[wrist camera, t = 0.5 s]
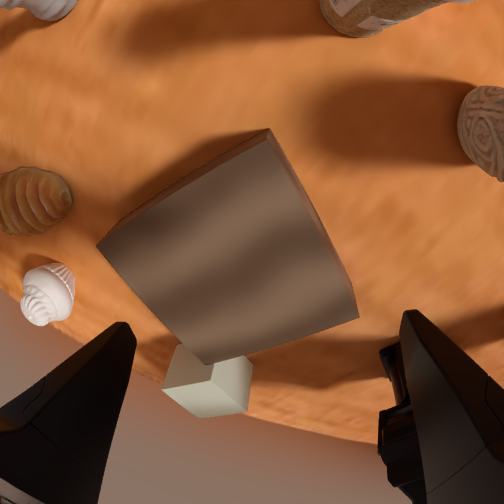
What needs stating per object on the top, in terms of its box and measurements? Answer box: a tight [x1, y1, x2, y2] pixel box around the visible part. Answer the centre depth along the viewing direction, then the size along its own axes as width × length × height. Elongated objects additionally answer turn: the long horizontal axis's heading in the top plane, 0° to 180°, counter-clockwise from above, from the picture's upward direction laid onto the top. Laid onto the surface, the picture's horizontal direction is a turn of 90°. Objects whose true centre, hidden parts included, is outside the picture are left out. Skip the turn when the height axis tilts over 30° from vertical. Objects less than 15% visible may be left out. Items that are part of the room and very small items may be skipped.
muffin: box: [20, 262, 76, 326], centre depth 25 cm, size 6×6×7 cm
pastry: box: [0, 167, 72, 236], centre depth 22 cm, size 9×7×4 cm
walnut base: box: [96, 128, 359, 365], centre depth 22 cm, size 14×14×4 cm
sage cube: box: [161, 343, 253, 418], centre depth 29 cm, size 6×6×6 cm
